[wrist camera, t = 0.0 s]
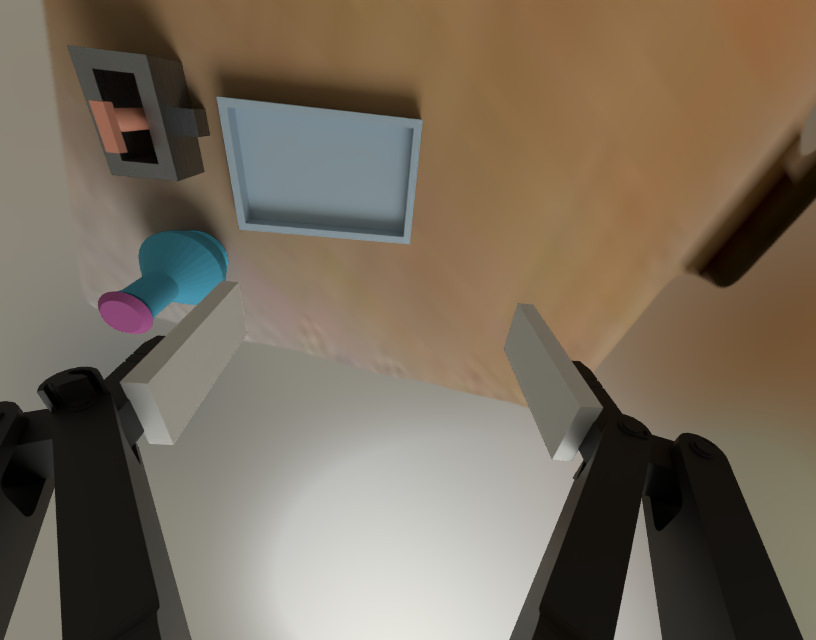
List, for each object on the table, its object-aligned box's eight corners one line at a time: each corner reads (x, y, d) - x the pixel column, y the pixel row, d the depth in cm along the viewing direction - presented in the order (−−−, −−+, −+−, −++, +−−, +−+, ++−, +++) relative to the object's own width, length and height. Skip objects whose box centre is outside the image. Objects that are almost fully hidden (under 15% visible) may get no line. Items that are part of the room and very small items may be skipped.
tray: (227, 97, 34) (216, 96, 32) (421, 119, 36) (422, 120, 34) (247, 223, 41) (239, 229, 39) (409, 237, 43) (409, 244, 41)
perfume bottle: (146, 245, 43) (41, 304, 30) (196, 205, 40) (103, 251, 28) (206, 298, 47) (135, 370, 34) (253, 265, 44) (196, 329, 32)
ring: (114, 53, 32) (66, 45, 28) (196, 63, 33) (163, 56, 28) (146, 166, 38) (111, 174, 33) (217, 173, 38) (192, 182, 34)
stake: (149, 100, 34) (83, 99, 27) (168, 102, 35) (107, 102, 27) (160, 142, 37) (102, 151, 29) (178, 144, 37) (124, 153, 29)
